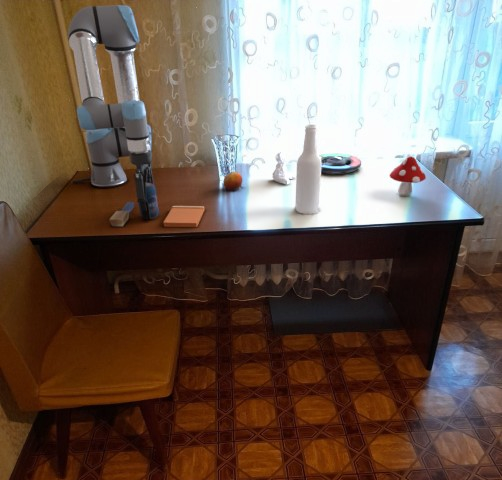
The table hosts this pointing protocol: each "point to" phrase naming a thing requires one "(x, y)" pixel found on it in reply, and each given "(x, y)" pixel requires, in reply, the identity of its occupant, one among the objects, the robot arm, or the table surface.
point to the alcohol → (308, 174)
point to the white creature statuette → (281, 170)
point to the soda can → (151, 200)
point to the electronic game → (339, 163)
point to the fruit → (233, 181)
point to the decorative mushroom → (407, 175)
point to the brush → (121, 215)
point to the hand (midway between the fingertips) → (149, 214)
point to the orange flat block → (184, 216)
